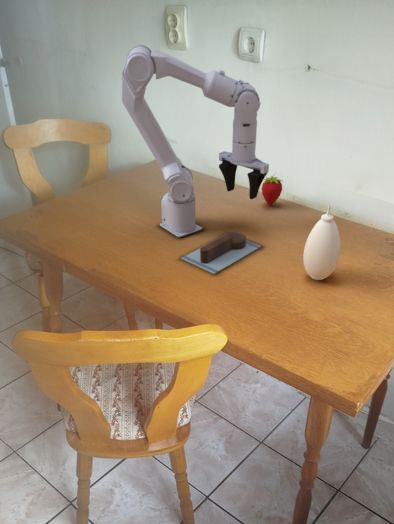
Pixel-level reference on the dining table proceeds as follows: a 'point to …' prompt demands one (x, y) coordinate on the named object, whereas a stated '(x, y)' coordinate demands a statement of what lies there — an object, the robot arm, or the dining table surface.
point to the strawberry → (271, 189)
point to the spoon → (222, 246)
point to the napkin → (221, 258)
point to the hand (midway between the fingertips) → (241, 194)
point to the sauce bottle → (322, 248)
